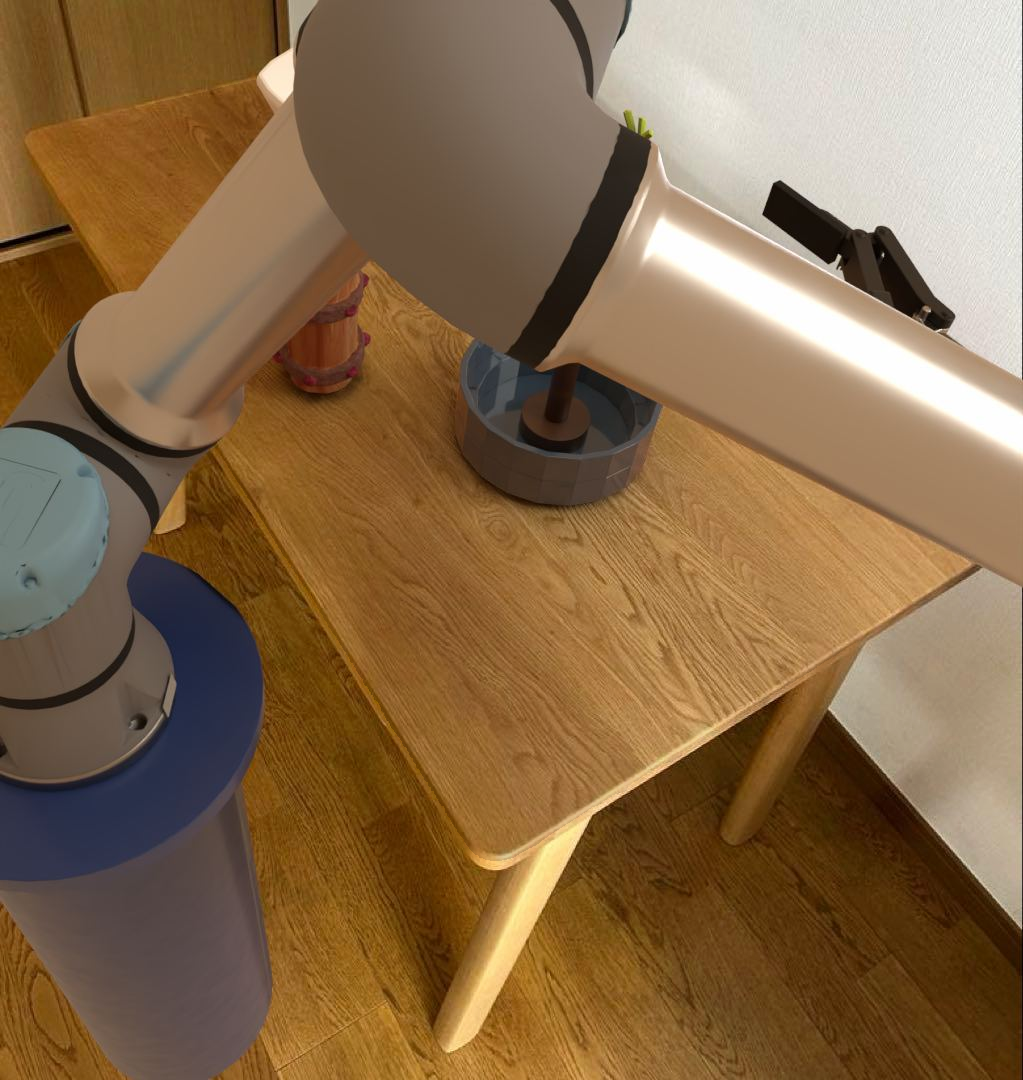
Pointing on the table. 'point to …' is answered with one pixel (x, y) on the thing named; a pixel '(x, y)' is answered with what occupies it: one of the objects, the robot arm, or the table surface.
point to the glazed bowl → (534, 474)
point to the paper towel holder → (556, 414)
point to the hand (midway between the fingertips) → (705, 226)
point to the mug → (328, 343)
